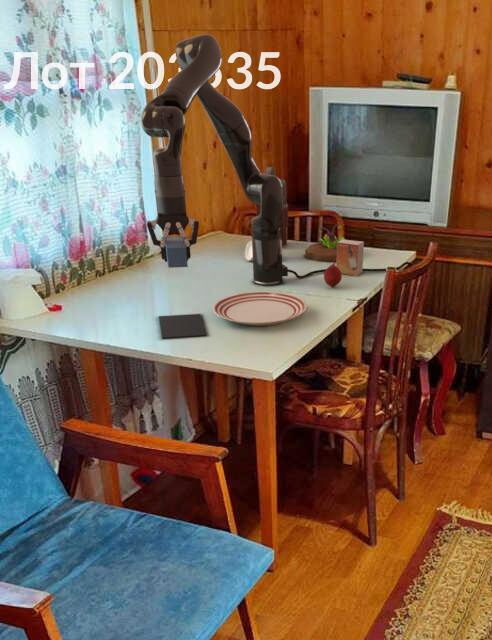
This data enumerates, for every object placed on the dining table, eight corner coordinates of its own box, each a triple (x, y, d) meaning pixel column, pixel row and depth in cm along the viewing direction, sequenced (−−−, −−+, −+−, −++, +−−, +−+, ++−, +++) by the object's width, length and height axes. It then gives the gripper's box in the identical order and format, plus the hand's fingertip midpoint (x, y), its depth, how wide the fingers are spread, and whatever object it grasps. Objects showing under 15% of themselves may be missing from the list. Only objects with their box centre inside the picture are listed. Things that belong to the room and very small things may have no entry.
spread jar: (285, 259, 272) (284, 226, 266) (266, 265, 264) (265, 231, 258) (259, 254, 277) (258, 221, 271) (240, 260, 269) (238, 227, 263)
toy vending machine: (283, 249, 283) (282, 170, 268) (257, 246, 286) (254, 168, 271) (292, 244, 291) (291, 166, 275) (266, 241, 294) (264, 164, 278)
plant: (349, 264, 268) (350, 232, 261) (299, 259, 273) (299, 227, 266) (365, 251, 283) (366, 220, 277) (317, 246, 288) (318, 216, 282)
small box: (335, 273, 258) (336, 242, 252) (341, 269, 262) (342, 238, 256) (357, 276, 255) (358, 244, 249) (362, 272, 260) (364, 241, 254)
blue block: (166, 248, 191) (164, 237, 201) (168, 267, 194) (166, 256, 204) (186, 247, 192) (183, 237, 202) (187, 267, 195) (184, 255, 205)
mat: (200, 315, 218) (200, 313, 218) (206, 336, 203) (206, 334, 203) (158, 317, 215) (158, 316, 215) (162, 338, 201) (161, 337, 201)
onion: (339, 290, 241) (339, 265, 236) (322, 289, 242) (322, 264, 237) (342, 285, 245) (343, 261, 241) (325, 284, 246) (326, 259, 242)
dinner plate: (270, 338, 202) (270, 326, 201) (194, 319, 214) (193, 308, 212) (324, 312, 222) (324, 301, 220) (251, 296, 234) (251, 285, 232)
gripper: (196, 190, 195) (201, 256, 205) (141, 191, 192) (148, 258, 202) (199, 195, 189) (204, 263, 199) (142, 196, 186) (149, 265, 196)
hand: (176, 260), depth 200 cm, fingers closed on blue block, 5 cm apart
